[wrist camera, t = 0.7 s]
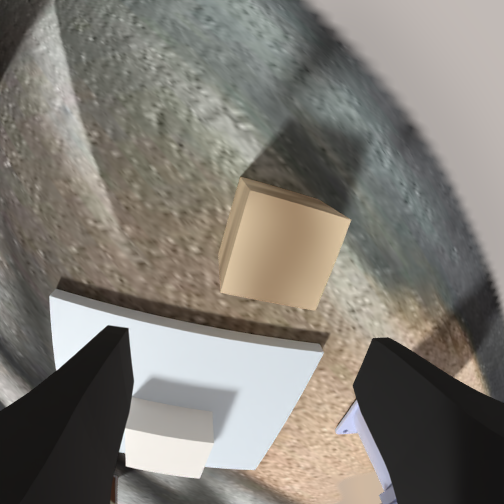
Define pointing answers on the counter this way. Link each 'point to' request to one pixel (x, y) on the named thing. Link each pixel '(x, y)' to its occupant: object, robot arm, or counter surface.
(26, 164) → the counter surface
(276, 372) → the white flat panel
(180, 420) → the base block
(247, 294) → the maple block
